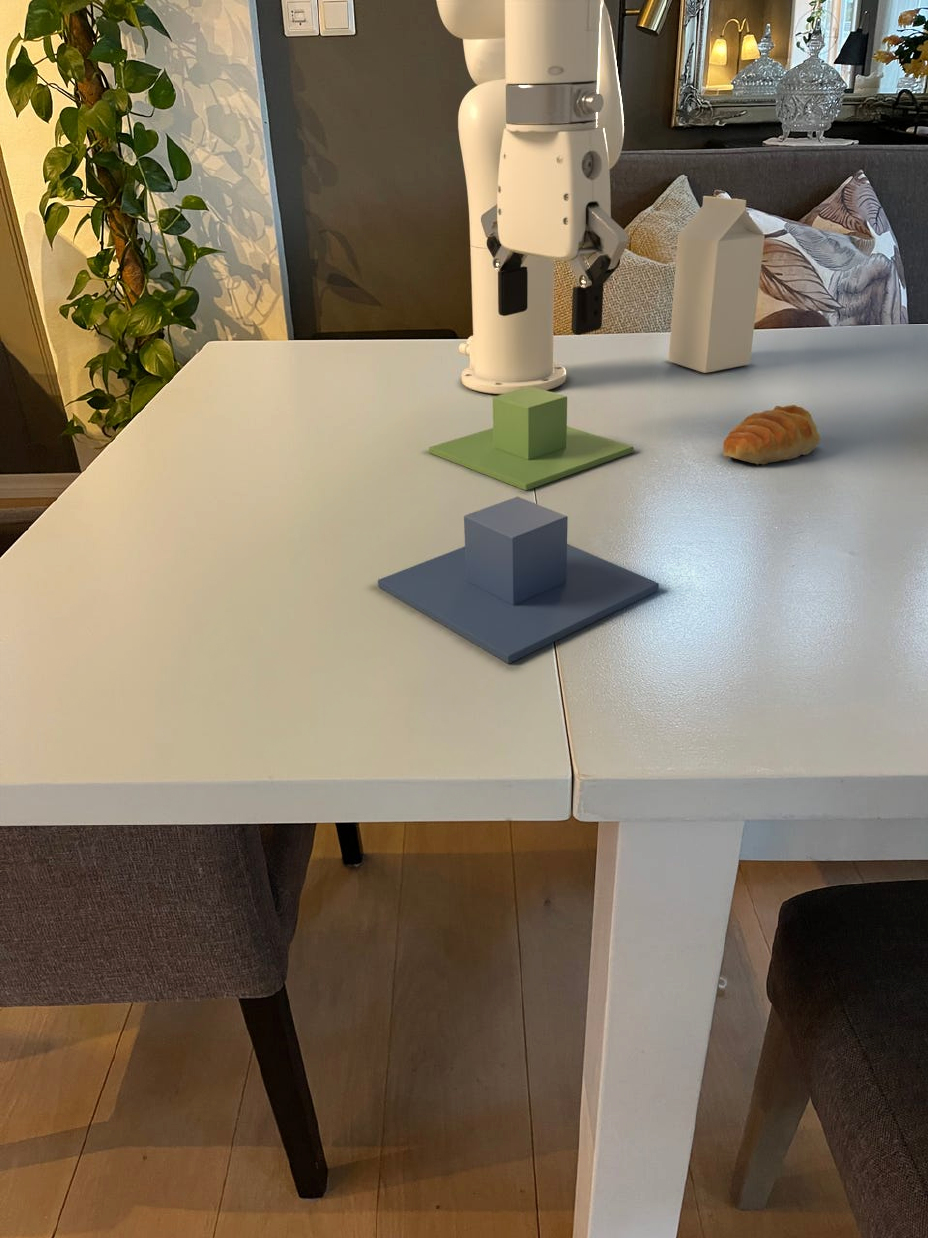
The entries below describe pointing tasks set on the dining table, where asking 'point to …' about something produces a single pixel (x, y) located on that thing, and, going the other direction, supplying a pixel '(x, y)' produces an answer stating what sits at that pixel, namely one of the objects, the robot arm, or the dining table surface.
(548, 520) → the blue block
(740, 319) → the milk carton
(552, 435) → the green block
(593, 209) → the robot arm
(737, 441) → the pastry
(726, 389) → the dining table surface
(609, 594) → the blue mat
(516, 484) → the green mat
